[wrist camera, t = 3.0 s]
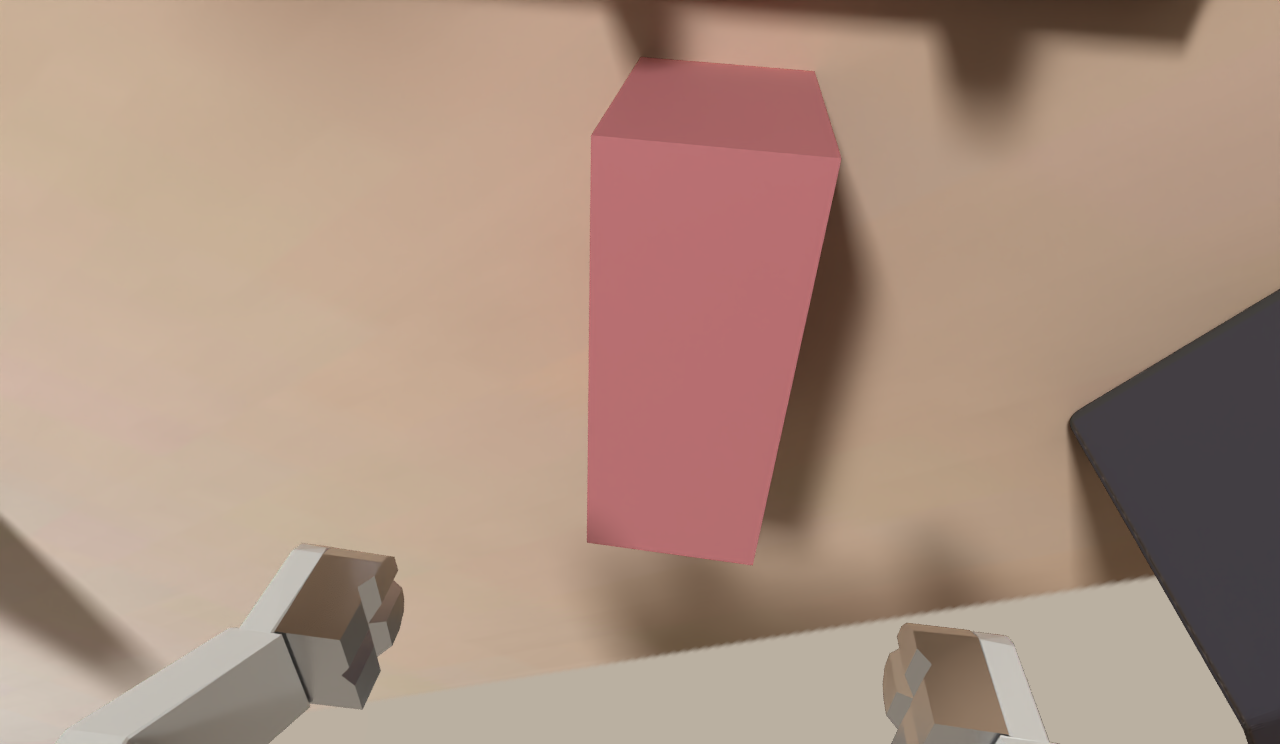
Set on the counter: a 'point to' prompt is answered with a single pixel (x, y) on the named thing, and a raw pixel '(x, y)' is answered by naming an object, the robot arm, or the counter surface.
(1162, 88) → the counter surface
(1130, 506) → the stepped charcoal slab
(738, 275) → the boxed book
